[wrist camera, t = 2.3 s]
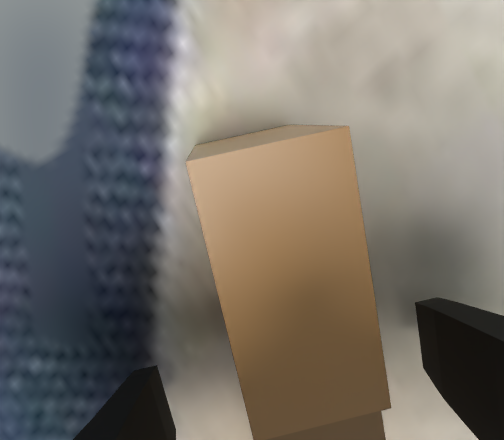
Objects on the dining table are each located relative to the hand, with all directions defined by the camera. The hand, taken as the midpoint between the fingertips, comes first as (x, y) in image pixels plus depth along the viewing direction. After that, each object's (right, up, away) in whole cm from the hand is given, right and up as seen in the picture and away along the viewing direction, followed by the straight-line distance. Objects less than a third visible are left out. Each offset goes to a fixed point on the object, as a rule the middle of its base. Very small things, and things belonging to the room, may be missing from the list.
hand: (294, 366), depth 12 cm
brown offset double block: (0, 0, +1) cm, 2 cm away
